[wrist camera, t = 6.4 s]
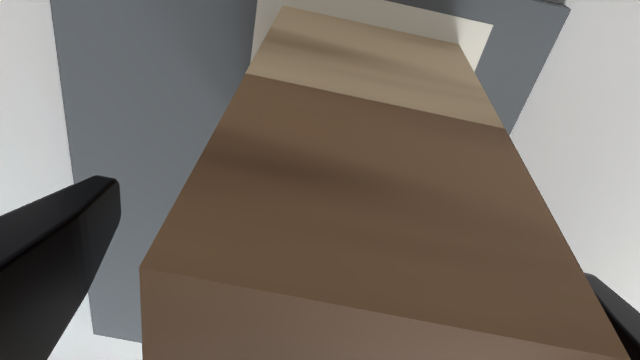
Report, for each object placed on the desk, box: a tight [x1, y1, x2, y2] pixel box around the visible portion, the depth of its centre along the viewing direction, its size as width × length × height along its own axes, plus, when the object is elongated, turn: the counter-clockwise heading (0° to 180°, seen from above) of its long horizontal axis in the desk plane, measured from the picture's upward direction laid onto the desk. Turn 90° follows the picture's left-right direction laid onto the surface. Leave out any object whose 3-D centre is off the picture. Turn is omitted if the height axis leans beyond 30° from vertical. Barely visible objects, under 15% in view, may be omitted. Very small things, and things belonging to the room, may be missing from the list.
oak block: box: [245, 5, 505, 129], centre depth 12 cm, size 5×5×5 cm
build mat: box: [50, 0, 571, 343], centre depth 17 cm, size 18×14×1 cm
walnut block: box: [139, 74, 631, 360], centre depth 8 cm, size 5×5×5 cm
